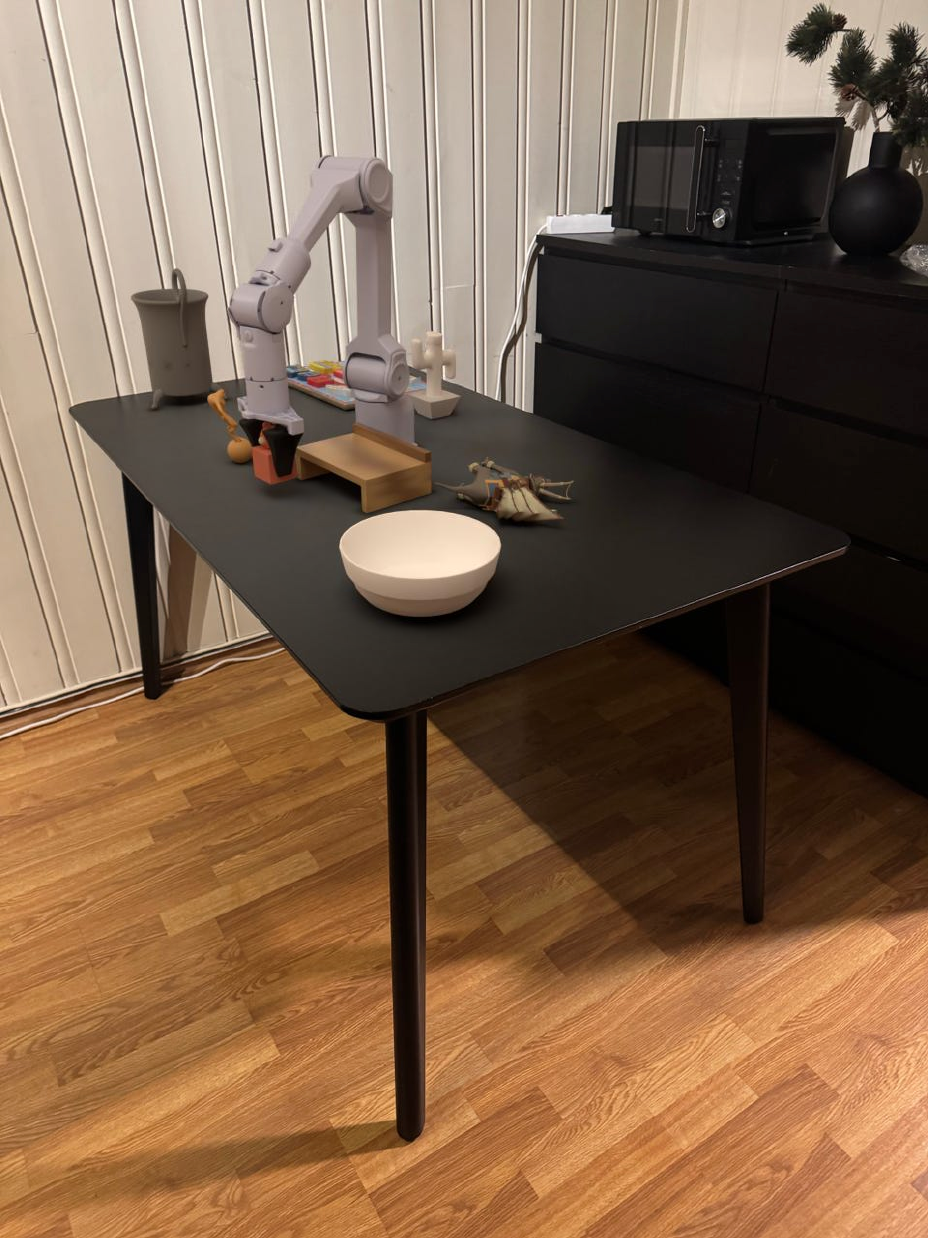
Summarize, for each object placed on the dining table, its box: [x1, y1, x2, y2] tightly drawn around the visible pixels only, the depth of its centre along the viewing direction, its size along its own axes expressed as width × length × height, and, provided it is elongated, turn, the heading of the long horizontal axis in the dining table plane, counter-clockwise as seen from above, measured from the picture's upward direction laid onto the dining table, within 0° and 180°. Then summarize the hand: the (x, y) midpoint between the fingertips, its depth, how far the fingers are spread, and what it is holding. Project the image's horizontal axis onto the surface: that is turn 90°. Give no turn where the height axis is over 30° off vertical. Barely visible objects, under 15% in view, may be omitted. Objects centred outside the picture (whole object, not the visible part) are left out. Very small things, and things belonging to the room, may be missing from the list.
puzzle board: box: [286, 359, 427, 411], centre depth 180 cm, size 30×23×3 cm
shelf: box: [295, 422, 432, 514], centre depth 130 cm, size 12×18×6 cm, turn 42°
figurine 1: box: [207, 388, 253, 464], centre depth 136 cm, size 8×6×12 cm
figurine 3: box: [433, 456, 575, 523], centre depth 122 cm, size 20×6×17 cm
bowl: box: [338, 509, 502, 618], centre depth 100 cm, size 18×18×7 cm
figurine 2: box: [407, 330, 462, 420], centre depth 160 cm, size 7×9×15 cm
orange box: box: [252, 421, 298, 485], centre depth 125 cm, size 4×4×8 cm
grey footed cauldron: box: [130, 267, 229, 410], centre depth 163 cm, size 19×15×25 cm
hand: (275, 470), depth 126 cm, fingers closed on orange box, 4 cm apart
